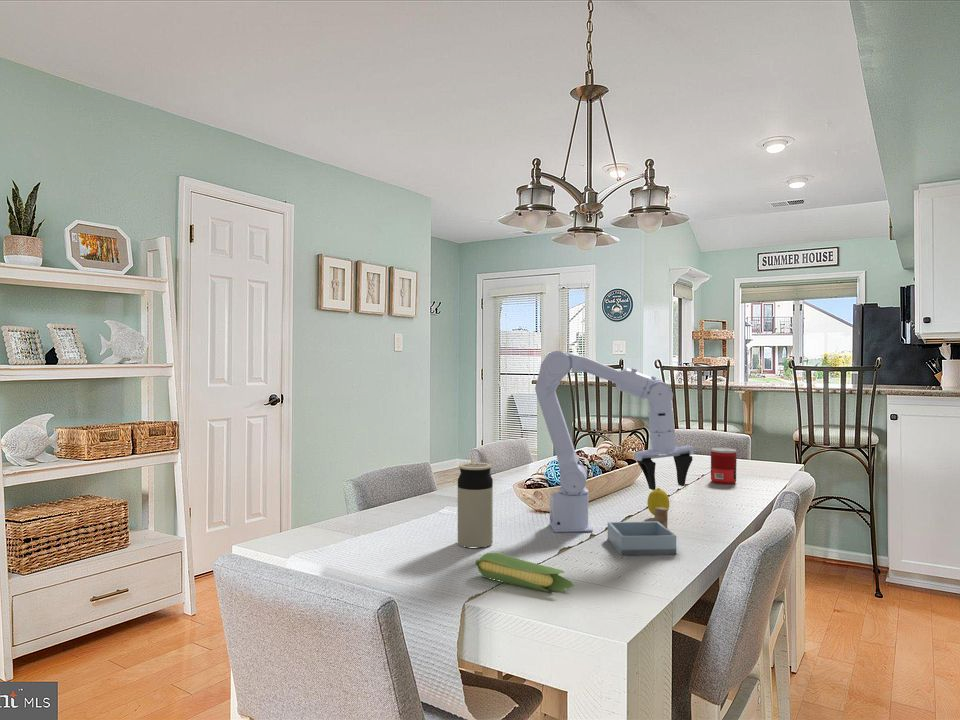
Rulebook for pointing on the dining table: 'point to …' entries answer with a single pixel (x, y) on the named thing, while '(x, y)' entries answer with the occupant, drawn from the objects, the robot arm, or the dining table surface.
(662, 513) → the peg
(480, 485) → the travel mug
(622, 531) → the tray
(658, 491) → the lemon
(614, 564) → the dining table surface
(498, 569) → the edible corn
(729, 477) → the canned food
